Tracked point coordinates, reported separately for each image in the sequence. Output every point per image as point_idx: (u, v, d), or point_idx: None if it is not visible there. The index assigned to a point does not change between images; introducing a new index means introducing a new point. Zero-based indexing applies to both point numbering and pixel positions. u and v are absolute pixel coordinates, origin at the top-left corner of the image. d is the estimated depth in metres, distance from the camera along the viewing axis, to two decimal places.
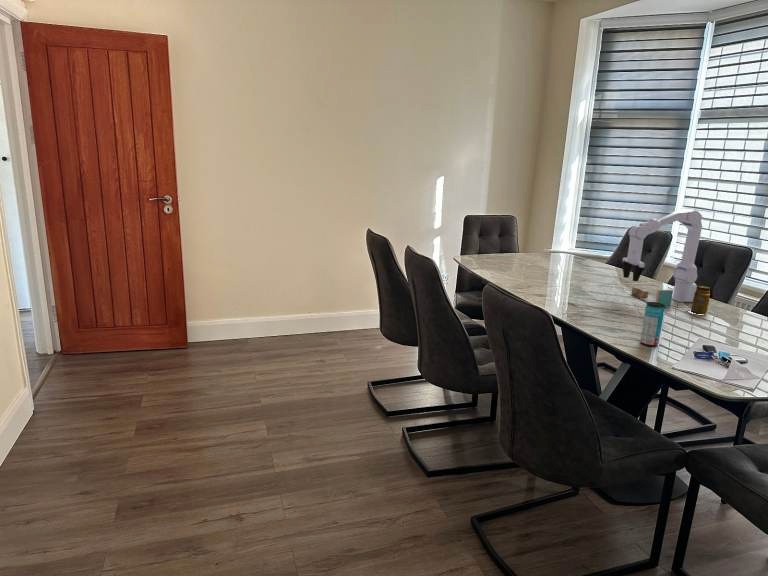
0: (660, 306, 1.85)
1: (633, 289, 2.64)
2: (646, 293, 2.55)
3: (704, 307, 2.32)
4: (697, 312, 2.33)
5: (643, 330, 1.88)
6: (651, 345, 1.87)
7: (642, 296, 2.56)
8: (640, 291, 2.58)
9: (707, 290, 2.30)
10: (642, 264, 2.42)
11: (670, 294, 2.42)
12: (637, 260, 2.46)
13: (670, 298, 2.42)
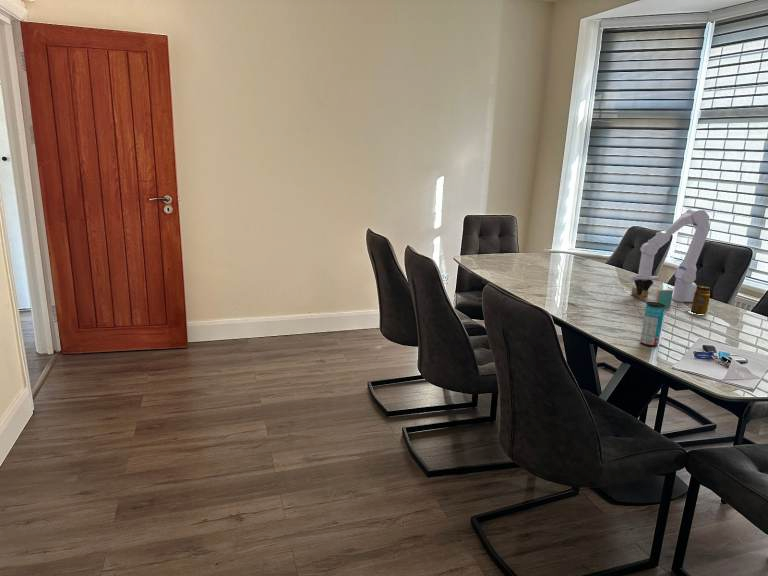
0: (660, 306, 1.85)
1: (633, 289, 2.64)
2: (646, 293, 2.55)
3: (704, 307, 2.32)
4: (697, 312, 2.33)
5: (643, 330, 1.88)
6: (651, 345, 1.87)
7: (642, 296, 2.56)
8: None
9: (707, 290, 2.30)
10: (630, 277, 2.56)
11: (670, 294, 2.42)
12: (639, 275, 2.56)
13: (670, 298, 2.42)
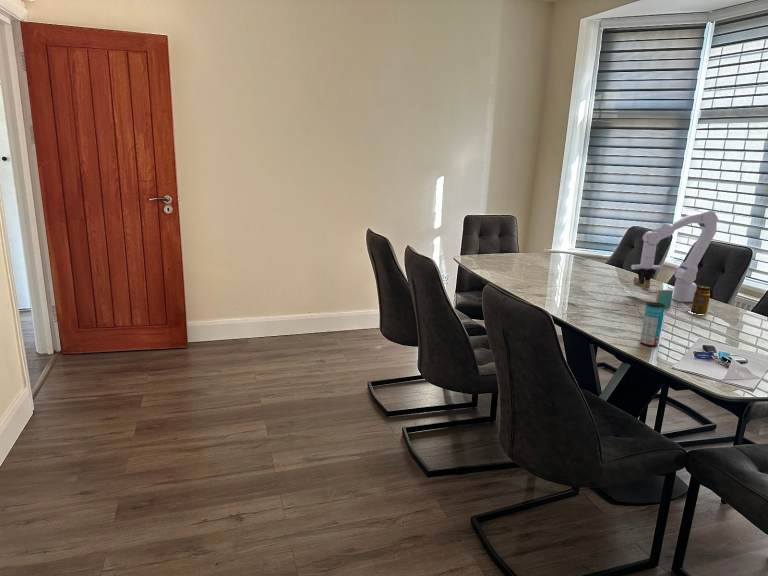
0: (660, 306, 1.85)
1: (635, 279, 2.62)
2: (648, 283, 2.54)
3: (704, 307, 2.32)
4: (697, 312, 2.33)
5: (643, 330, 1.88)
6: (651, 345, 1.87)
7: (644, 286, 2.55)
8: None
9: (707, 290, 2.30)
10: (632, 266, 2.54)
11: (670, 294, 2.42)
12: (641, 264, 2.55)
13: (670, 298, 2.42)
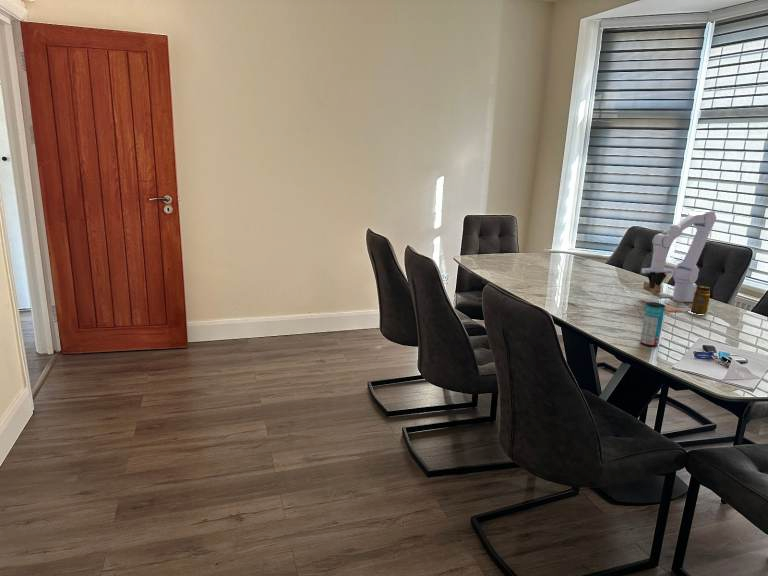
0: (660, 306, 1.85)
1: (645, 283, 2.54)
2: (659, 288, 2.46)
3: (704, 307, 2.32)
4: (697, 312, 2.33)
5: (643, 330, 1.88)
6: (651, 345, 1.87)
7: (654, 291, 2.47)
8: None
9: (707, 290, 2.30)
10: (642, 269, 2.46)
11: None
12: (652, 268, 2.46)
13: None
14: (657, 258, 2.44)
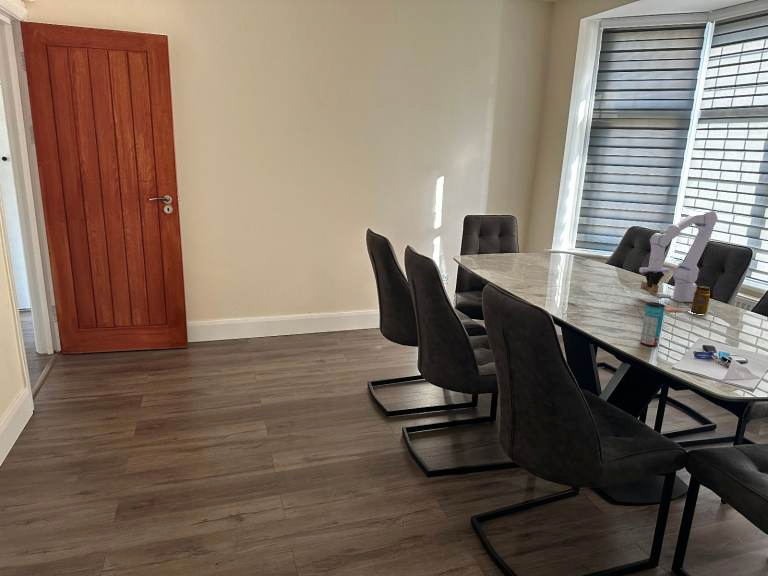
0: (660, 306, 1.85)
1: (642, 283, 2.56)
2: (656, 287, 2.48)
3: (704, 307, 2.32)
4: (697, 312, 2.33)
5: (643, 330, 1.88)
6: (651, 345, 1.87)
7: (652, 290, 2.49)
8: None
9: (707, 290, 2.30)
10: (640, 269, 2.48)
11: None
12: (649, 267, 2.48)
13: None
14: (654, 257, 2.46)
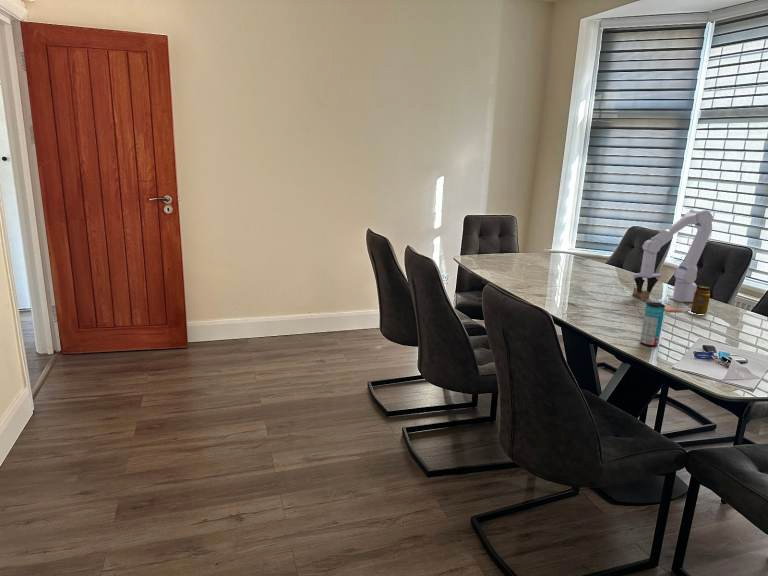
0: (660, 306, 1.85)
1: (634, 290, 2.63)
2: (647, 294, 2.54)
3: (704, 307, 2.32)
4: (697, 312, 2.33)
5: (643, 330, 1.88)
6: (651, 345, 1.87)
7: (643, 297, 2.55)
8: (641, 292, 2.57)
9: (707, 290, 2.30)
10: (632, 274, 2.54)
11: None
12: (641, 273, 2.54)
13: None
14: (644, 263, 2.52)
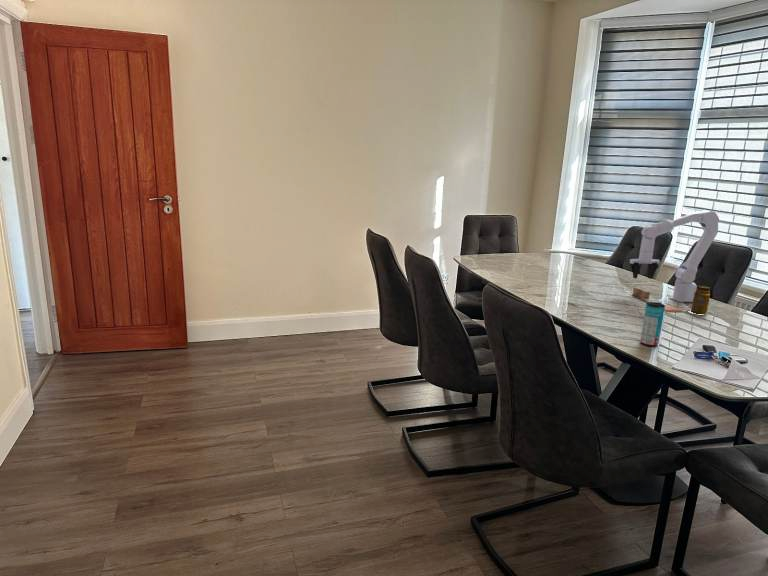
0: (660, 306, 1.85)
1: (634, 290, 2.63)
2: (647, 294, 2.54)
3: (704, 307, 2.32)
4: (697, 312, 2.33)
5: (643, 330, 1.88)
6: (651, 345, 1.87)
7: (643, 297, 2.55)
8: (641, 292, 2.57)
9: (707, 290, 2.30)
10: (631, 260, 2.55)
11: None
12: (640, 258, 2.56)
13: None
14: (642, 248, 2.54)
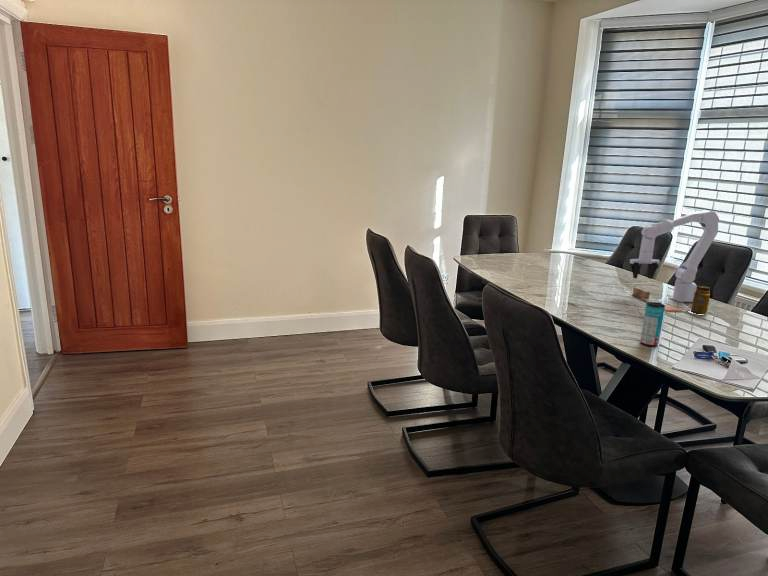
0: (660, 306, 1.85)
1: (634, 290, 2.63)
2: (647, 294, 2.54)
3: (704, 307, 2.32)
4: (697, 312, 2.33)
5: (643, 330, 1.88)
6: (651, 345, 1.87)
7: (643, 297, 2.55)
8: (641, 292, 2.57)
9: (707, 290, 2.30)
10: (631, 260, 2.55)
11: None
12: (640, 258, 2.56)
13: None
14: (642, 248, 2.54)
